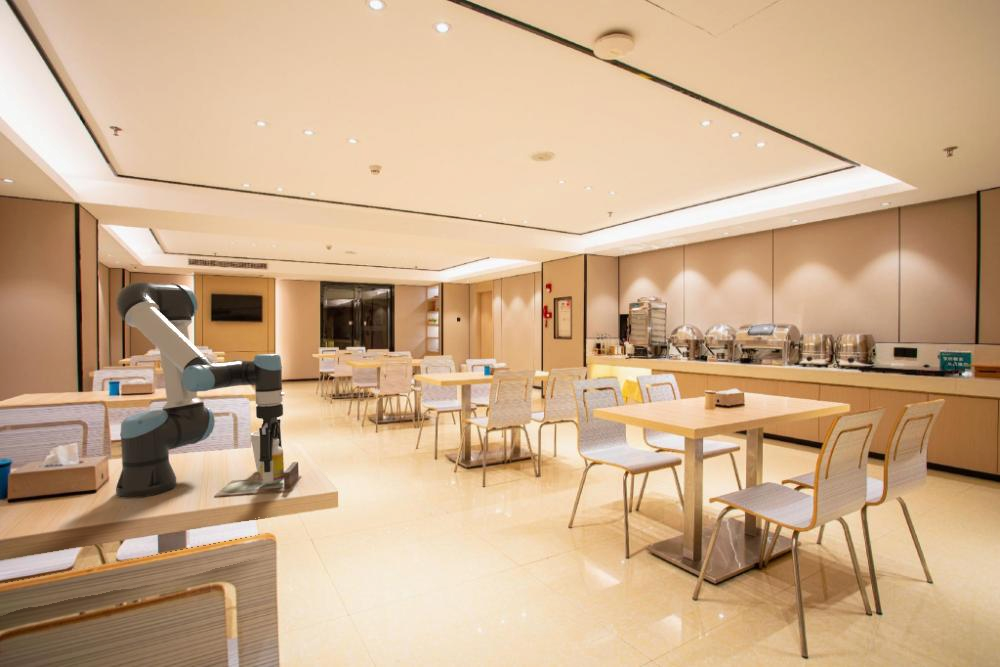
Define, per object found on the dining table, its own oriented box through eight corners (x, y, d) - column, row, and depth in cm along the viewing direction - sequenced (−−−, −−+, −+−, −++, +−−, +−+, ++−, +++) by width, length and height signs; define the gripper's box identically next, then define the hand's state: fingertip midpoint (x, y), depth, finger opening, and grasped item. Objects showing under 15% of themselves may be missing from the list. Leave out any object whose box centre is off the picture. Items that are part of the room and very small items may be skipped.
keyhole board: (214, 497, 144) (213, 478, 144) (231, 481, 158) (231, 465, 157) (290, 491, 147) (289, 473, 147) (301, 476, 161) (300, 460, 161)
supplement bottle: (288, 478, 155) (287, 437, 155) (273, 485, 149) (272, 443, 148) (271, 477, 157) (269, 437, 157) (255, 484, 151) (254, 442, 150)
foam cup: (273, 474, 165) (272, 435, 164) (246, 474, 165) (245, 435, 165) (286, 465, 174) (285, 429, 174) (260, 466, 174) (259, 429, 174)
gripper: (273, 409, 143) (276, 487, 144) (290, 398, 162) (293, 468, 163) (245, 410, 142) (248, 489, 143) (266, 399, 161) (268, 469, 162)
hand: (272, 478), depth 153 cm, fingers closed on supplement bottle, 7 cm apart
